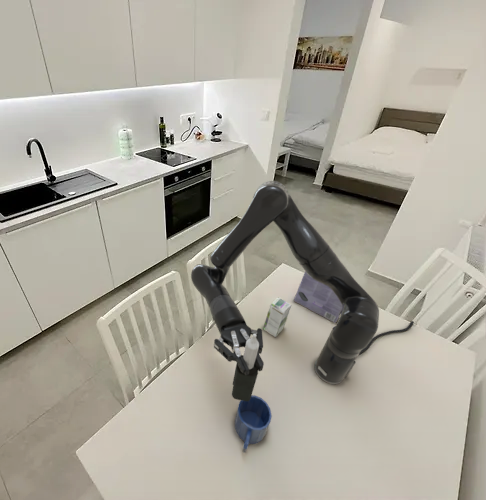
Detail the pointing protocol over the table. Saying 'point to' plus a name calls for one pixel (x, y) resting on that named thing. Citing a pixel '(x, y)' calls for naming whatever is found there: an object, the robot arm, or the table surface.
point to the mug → (252, 420)
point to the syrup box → (277, 316)
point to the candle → (246, 383)
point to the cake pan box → (318, 298)
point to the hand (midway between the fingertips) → (254, 370)
